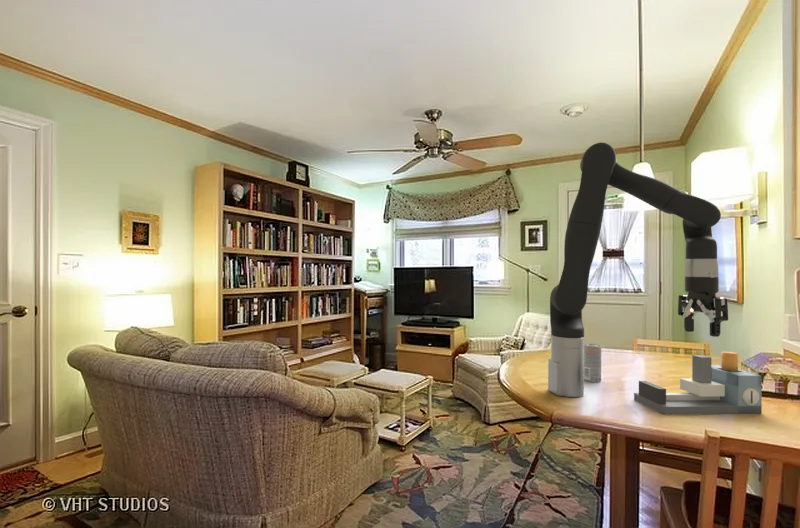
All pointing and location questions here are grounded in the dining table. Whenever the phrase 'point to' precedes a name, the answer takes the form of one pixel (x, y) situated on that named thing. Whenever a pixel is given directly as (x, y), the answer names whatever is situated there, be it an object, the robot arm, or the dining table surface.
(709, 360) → the carriage
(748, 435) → the dining table surface
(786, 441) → the dining table surface
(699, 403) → the rail track
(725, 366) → the button
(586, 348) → the energy drink
